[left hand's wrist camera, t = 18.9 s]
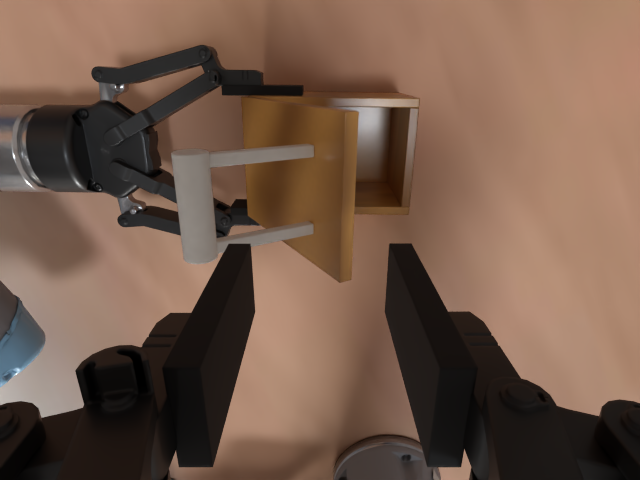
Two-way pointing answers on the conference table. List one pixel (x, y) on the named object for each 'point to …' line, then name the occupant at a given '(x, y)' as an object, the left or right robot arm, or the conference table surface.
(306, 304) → the conference table surface
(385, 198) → the chest
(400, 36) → the conference table surface
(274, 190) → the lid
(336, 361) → the conference table surface
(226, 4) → the conference table surface
